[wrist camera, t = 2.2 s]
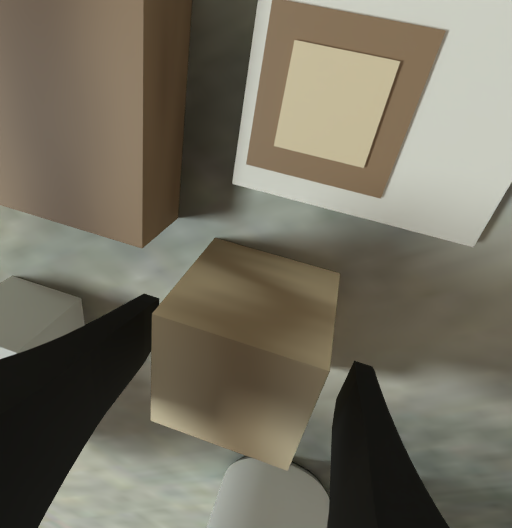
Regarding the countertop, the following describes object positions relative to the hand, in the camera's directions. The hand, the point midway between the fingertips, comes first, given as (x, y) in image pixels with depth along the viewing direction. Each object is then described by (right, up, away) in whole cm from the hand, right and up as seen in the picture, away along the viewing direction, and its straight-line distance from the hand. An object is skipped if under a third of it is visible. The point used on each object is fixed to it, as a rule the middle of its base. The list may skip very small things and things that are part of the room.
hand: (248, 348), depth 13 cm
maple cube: (+1, +1, +2) cm, 3 cm away
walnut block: (-5, +9, 0) cm, 10 cm away
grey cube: (-11, 0, +6) cm, 12 cm away
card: (+4, +7, -2) cm, 9 cm away
